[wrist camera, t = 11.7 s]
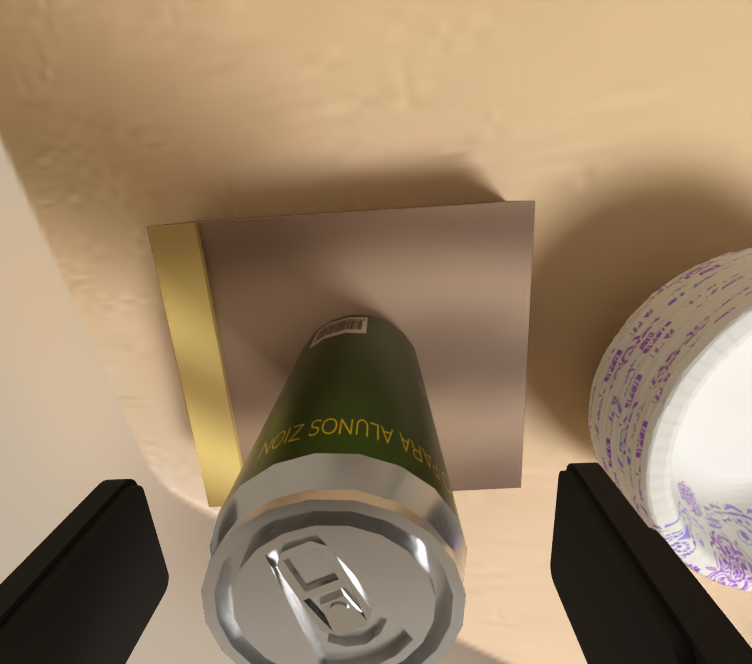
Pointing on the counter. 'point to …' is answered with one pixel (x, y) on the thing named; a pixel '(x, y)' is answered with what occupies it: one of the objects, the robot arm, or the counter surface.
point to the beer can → (341, 516)
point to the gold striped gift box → (354, 297)
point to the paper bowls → (685, 416)
